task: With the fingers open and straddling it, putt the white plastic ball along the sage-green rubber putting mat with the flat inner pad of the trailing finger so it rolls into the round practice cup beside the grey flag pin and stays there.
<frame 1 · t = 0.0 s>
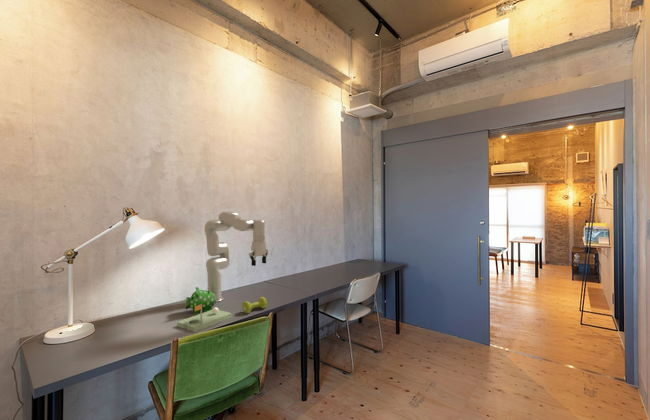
hand: (258, 264, 195), 31 cm above the table, fingers open, 9 cm apart
piggy bank: (201, 311, 196), on the table
green: (205, 321, 178), on the table
dumbbell: (254, 310, 198), on the table
ball: (215, 310, 184), point 4 cm above the table, touching green
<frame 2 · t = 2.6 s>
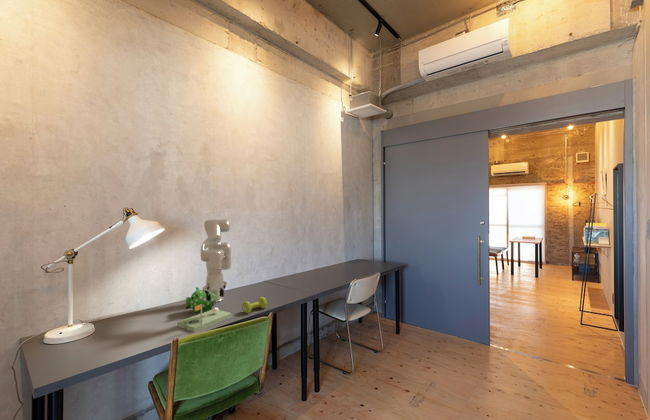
hand: (215, 298, 183), 12 cm above the table, fingers open, 9 cm apart
nothing on the table moved.
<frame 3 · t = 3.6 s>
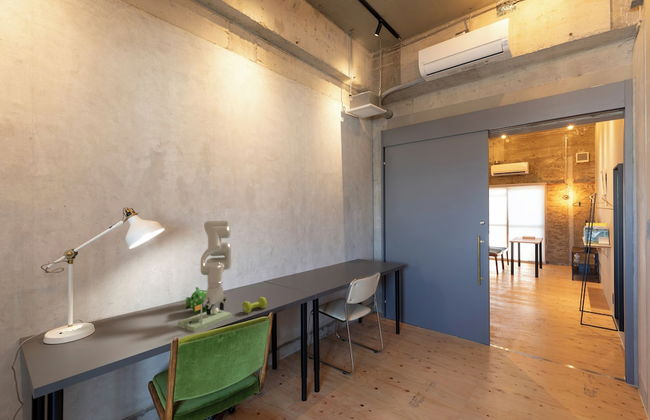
hand: (215, 312, 184), 4 cm above the table, fingers open, 9 cm apart
nothing on the table moved.
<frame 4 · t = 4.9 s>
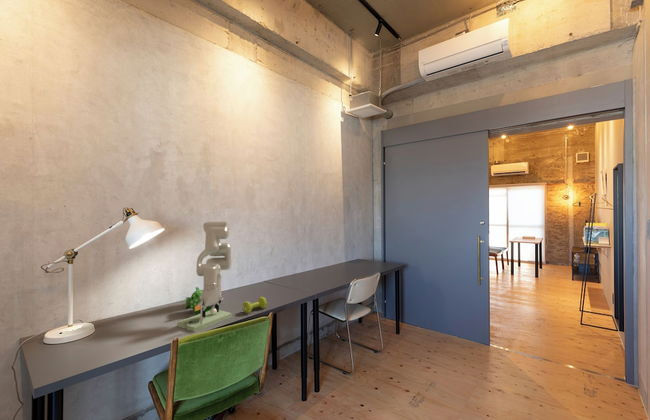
hand: (210, 314, 180), 3 cm above the table, fingers open, 9 cm apart
ball: (213, 311, 183), point 4 cm above the table, tilted 37°, touching green
everything else where it was.
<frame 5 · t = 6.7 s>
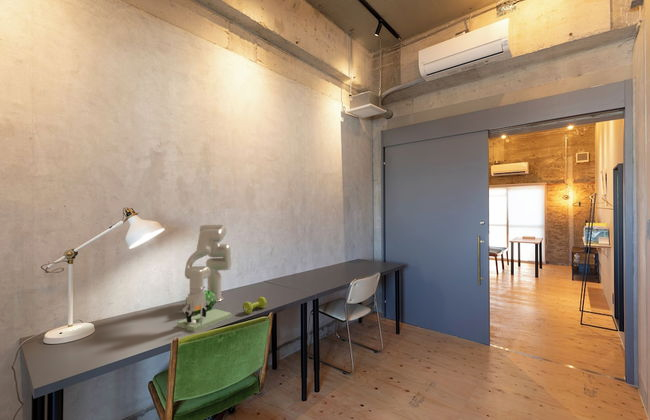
hand: (196, 319, 173), 3 cm above the table, fingers open, 9 cm apart
ball: (192, 323, 170), point 2 cm above the table, tilted 117°
everything else where it was.
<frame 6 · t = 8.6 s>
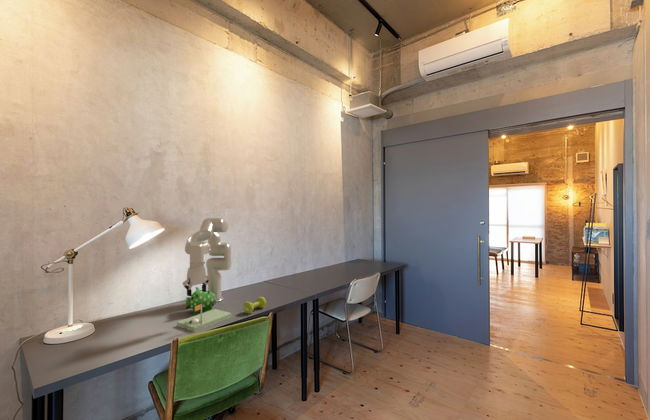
hand: (196, 293, 173), 18 cm above the table, fingers open, 9 cm apart
ball: (195, 322, 172), point 2 cm above the table, tilted 66°
everything else where it was.
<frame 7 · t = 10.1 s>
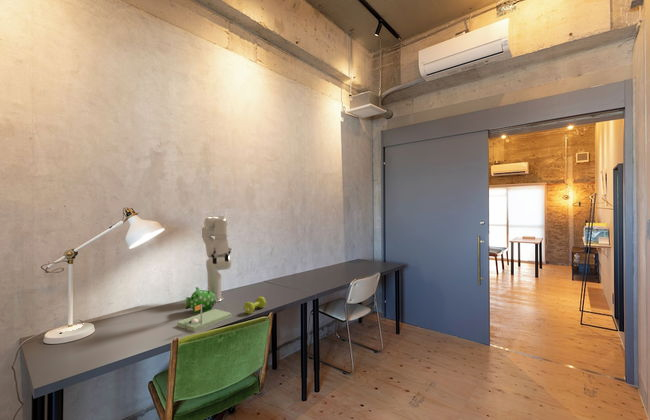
hand: (220, 262, 197), 32 cm above the table, fingers open, 9 cm apart
ball: (194, 322, 171), point 2 cm above the table, tilted 72°
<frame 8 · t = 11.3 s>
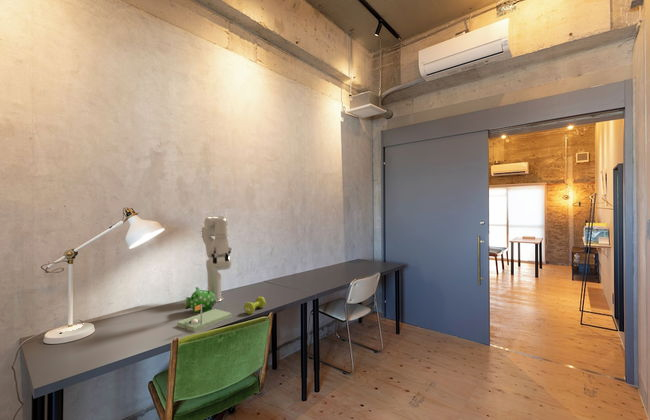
hand: (220, 262, 197), 32 cm above the table, fingers open, 9 cm apart
ball: (194, 322, 171), point 2 cm above the table, tilted 78°
at the end: ball 0.5 cm from the target spot in the green, point 2.0 cm above the green's base; the gripper is holding nothing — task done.
